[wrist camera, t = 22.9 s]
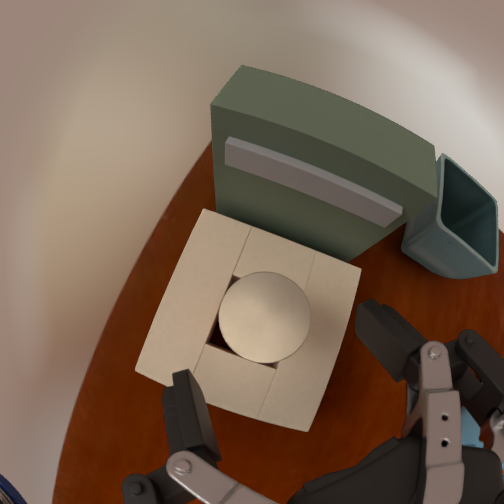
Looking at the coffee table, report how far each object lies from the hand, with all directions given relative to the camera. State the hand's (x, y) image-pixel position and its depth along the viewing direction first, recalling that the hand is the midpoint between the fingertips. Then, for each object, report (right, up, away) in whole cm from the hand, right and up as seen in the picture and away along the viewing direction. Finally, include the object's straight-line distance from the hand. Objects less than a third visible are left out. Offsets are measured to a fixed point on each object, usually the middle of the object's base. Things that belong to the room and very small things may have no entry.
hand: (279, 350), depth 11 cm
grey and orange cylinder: (-1, -2, +11) cm, 11 cm away
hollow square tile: (-1, -2, +11) cm, 11 cm away
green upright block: (+2, +7, +14) cm, 15 cm away
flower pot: (+17, +5, +15) cm, 24 cm away
